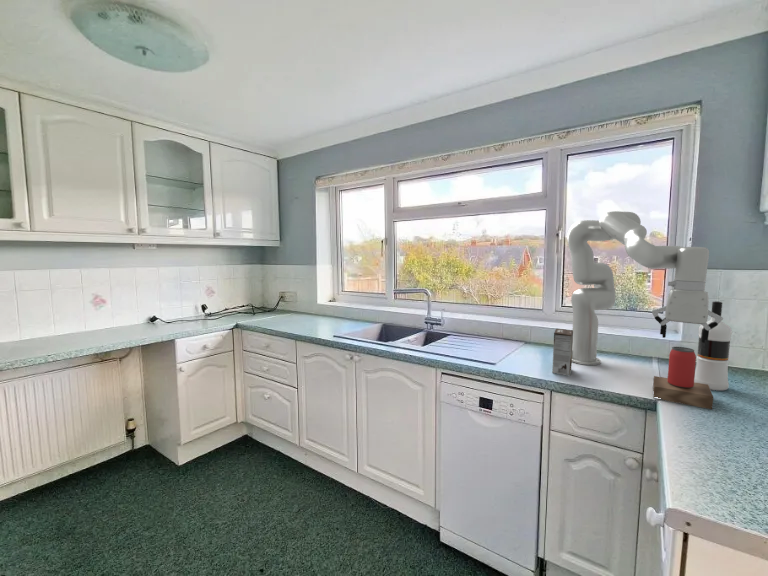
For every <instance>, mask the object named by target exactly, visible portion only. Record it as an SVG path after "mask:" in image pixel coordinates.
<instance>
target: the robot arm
mask: <svg viewBox="0 0 768 576" xmlns="http://www.w3.org/2000/svg"><path fill="white" fill-rule="evenodd" d="M647 234H648V233H647V228H646V227H645V226H643V225H642V224H641V219H640V215H638V214H637V213H635V212H633V211H620V210H619V211H618V210H617V211H609V212H607V213H604V214H603V215H602V216H601V217H600V219H599V220H593V219H592V220H591V219H590V220H585V219H583V220H580V221H576V222H574V223H573V224H572V225H571V226H570V228H569V230H568V232H567V238H566V240H567V245H568V248H569V253H570V260H571V267H572V268H571V271H572V276H573V281H574V283H575V284H577V285H579V286H593V287H584V288H579V289H576V290H575V291H574V292H572V295H571V299H570V301H571V307H572V330H573V345H572V363H575V364H579V365H583V366H584V365H586V366H597V365H600V364H601V359H600V358H598V357H597V354H598V353H597V352H598V350H597V349H598V337H599V335H598V334H599V318H598V316H597V314H596V312H595V311H604V310H610V309H611V308H612V307H613V306H614V305H615V303H616V289H615V280H614V273H613V270H612V268H611V267H610V266H609V265H608V264H607V263H605V262H595V257H594V251H593V249H592V247H591V245H590V244H589V243H588V242H591V241H592V242H606V241H612V240H616V241H618V242H619V243H621V245H624V250H625V252H626V254H627V255H628V256H629V257H630V259H632V260H633V261H635V262H636V263H638V264H639V265H641V266H643V267H645V268H647V269H650V270H656V269H658V270H659V269H664V270H665V269H666V270H667V269H675V272H674V280H673V281H667V283H668V284H667V286H668V287H669V286H670V287H672V289H670V291H669V293H668V296H667V300H666V306H663V307H659V308H655V309H652V310H651V314H652V316H653V318H654V319H655V321H657V322H658V324H659V325H660V331H659V335H661V336H662V338H664V339H665V338H666V336H667V329H668V328H667V324H668V323H669V322H675V323H682V324H683V323H685V324H694V325H702V326H703V329H702V334H701V342H702V343H705V340H708V335H709V330H711V329H712V328H714V327H716V326H717V325H718V324H719V323H720V322H721V321H722V322H723V319H724V318H723V316H722V315H721V316H719V315H717V314H715V313H713V312H711V311H712V310H709V303H710V302H709V300H710V299H709V292H708V291H705V290H706V282H707V281H706V280H707V273H708V264H709V259H710V258H709V256H710V250H709V249H708V248H707V247H704V246H680V245H655V244H653V243H650V242H649V241H647V240H646V236H647ZM663 312H665V314H664V316H665V317H664V318H663V319H662V318H661V317H660V315H659V314H661V313H663ZM708 317H710V318H711V317H713V318H715V320H714V321H713V322H712V323H710V324H707V323H706V322H707V321H708V319H709V318H708Z"/></svg>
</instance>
